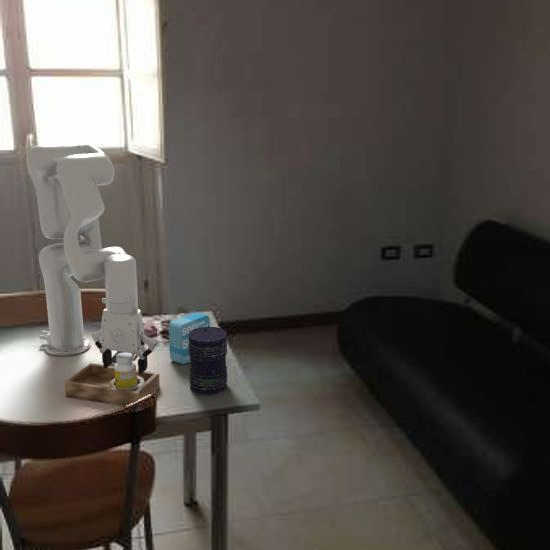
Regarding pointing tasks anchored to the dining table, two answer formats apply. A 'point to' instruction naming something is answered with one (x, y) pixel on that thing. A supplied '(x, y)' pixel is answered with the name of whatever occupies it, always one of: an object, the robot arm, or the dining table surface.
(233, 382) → the dining table surface
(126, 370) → the supplement bottle
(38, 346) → the dining table surface
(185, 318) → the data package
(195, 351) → the storage jar
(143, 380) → the walnut box
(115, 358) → the cell phone
